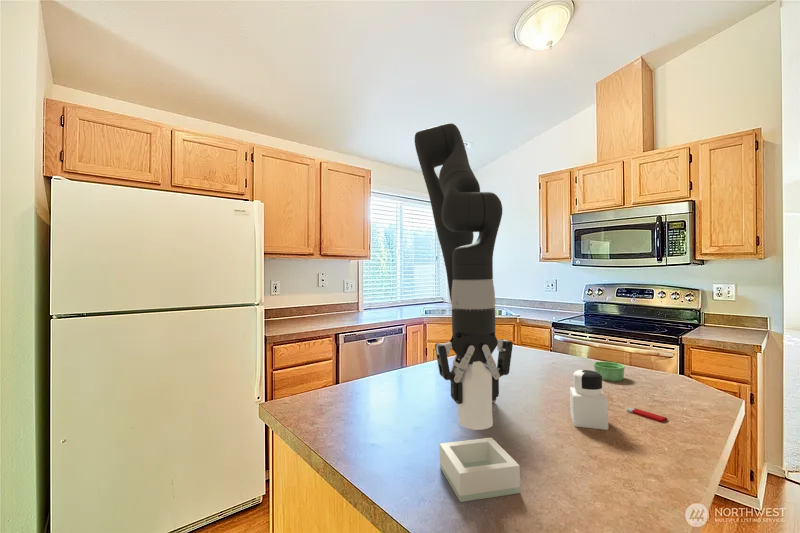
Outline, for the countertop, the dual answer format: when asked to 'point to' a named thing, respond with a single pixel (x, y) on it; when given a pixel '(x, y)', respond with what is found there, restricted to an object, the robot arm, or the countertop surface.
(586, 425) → the medicine bottle
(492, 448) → the socket
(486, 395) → the roll
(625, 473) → the countertop surface
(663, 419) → the lighter
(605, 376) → the ramekin
